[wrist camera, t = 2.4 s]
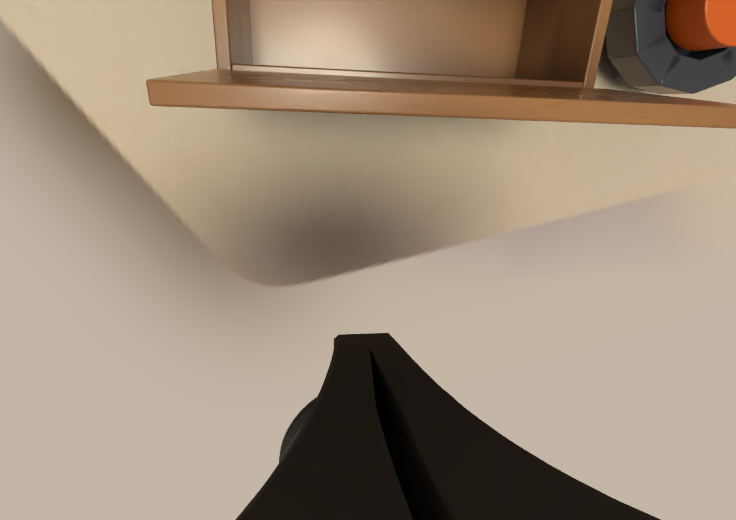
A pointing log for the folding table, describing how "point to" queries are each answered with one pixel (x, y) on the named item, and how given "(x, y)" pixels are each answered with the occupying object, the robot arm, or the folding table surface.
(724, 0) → the button
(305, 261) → the folding table surface
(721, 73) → the control box
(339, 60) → the carton
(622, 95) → the flap
